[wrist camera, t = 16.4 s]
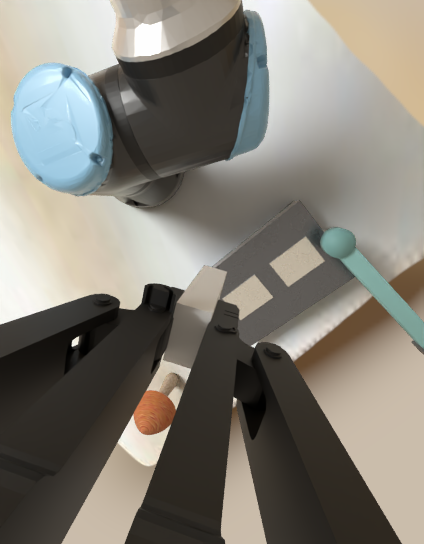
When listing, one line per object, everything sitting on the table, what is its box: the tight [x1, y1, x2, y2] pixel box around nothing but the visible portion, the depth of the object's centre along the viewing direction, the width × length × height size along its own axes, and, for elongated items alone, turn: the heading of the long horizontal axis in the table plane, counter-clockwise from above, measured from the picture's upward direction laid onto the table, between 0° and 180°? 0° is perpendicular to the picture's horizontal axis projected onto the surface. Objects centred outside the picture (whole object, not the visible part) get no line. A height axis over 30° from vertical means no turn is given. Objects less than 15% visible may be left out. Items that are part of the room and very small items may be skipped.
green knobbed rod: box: [320, 227, 424, 354], centre depth 38 cm, size 24×4×3 cm, turn 45°
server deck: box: [212, 200, 355, 346], centre depth 45 cm, size 15×23×8 cm, turn 130°
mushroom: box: [134, 373, 178, 435], centre depth 51 cm, size 8×8×15 cm
